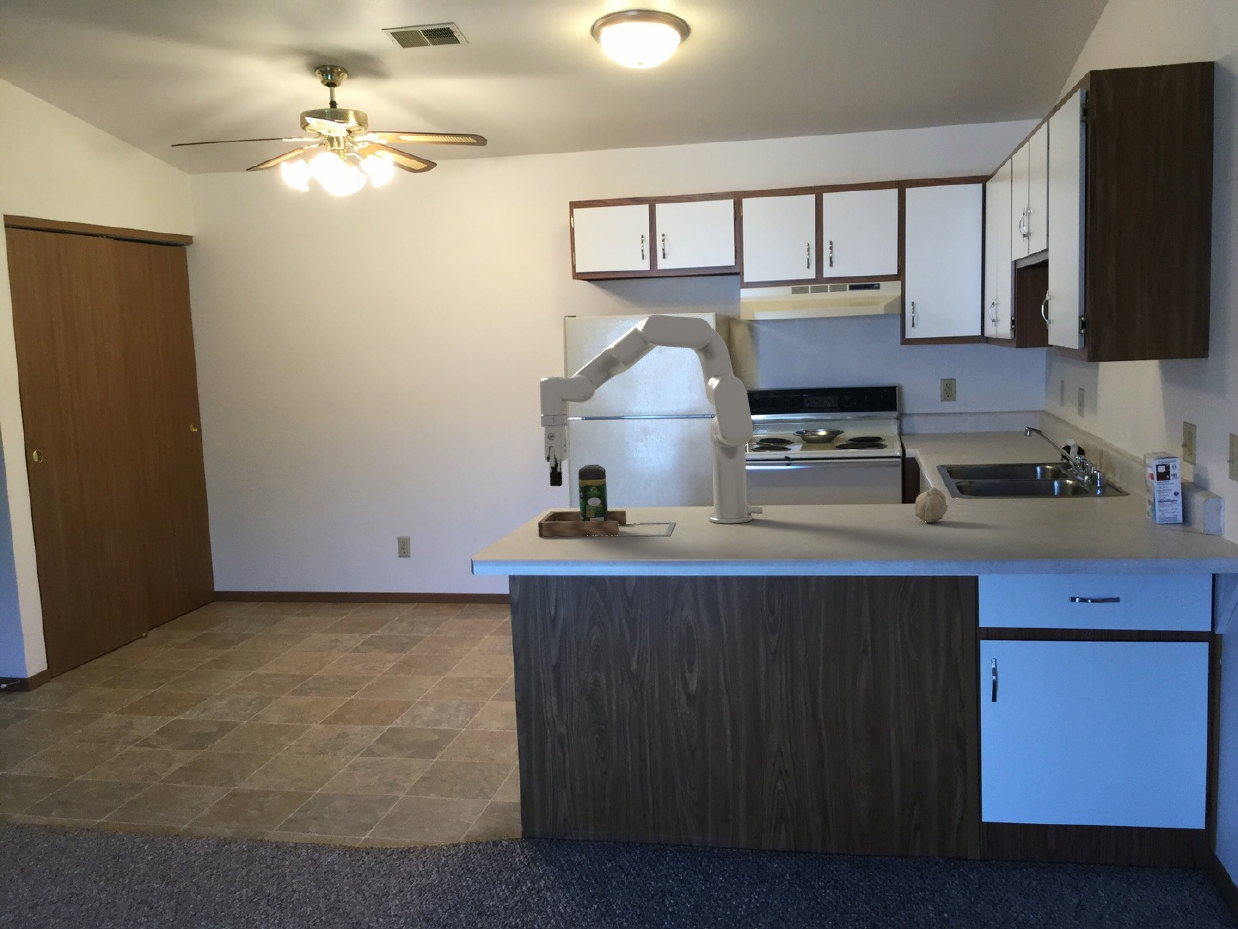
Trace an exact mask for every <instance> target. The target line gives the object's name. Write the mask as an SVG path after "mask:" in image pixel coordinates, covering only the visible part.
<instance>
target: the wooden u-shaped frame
mask: <svg viewBox="0 0 1238 929" xmlns="http://www.w3.org/2000/svg"><path fill="white" fill-rule="evenodd" d="M626 523H627V510H626V509H625V510H621V509H620V510H608V521H581V520H580V510H568V511H567V510H561V511H560V510H558V511H557V510H555V511H553V510H551V511H550V512H548V513H547V514H546V515H545V516H544V517H543V518H542V519H541V520H539V521H538V522H537V528H538V537H539V536H575V537H596V536H595V535H598V536H597V537H606V536H605V535H608V536H607V537H615V536H614V535H620V532H619V531H620V530H619V528H620V527H619V526H620V525H618V524H626ZM626 525H627V524H626ZM587 535H588V536H587ZM592 535H594V536H592ZM601 535H603V536H601ZM611 535H613V536H611Z"/></svg>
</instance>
